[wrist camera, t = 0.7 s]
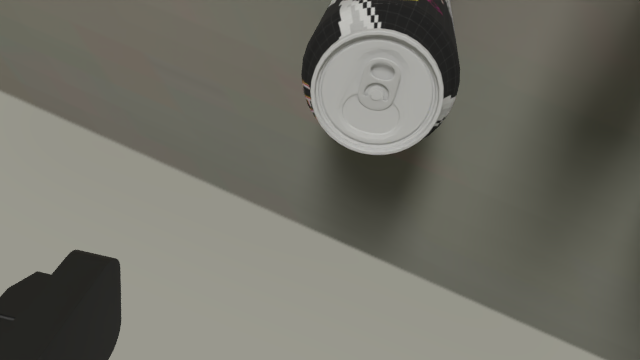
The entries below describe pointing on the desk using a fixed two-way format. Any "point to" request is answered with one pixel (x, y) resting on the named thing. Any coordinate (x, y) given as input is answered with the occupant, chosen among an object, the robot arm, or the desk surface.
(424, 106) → the beverage can
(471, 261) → the desk surface
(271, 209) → the desk surface
